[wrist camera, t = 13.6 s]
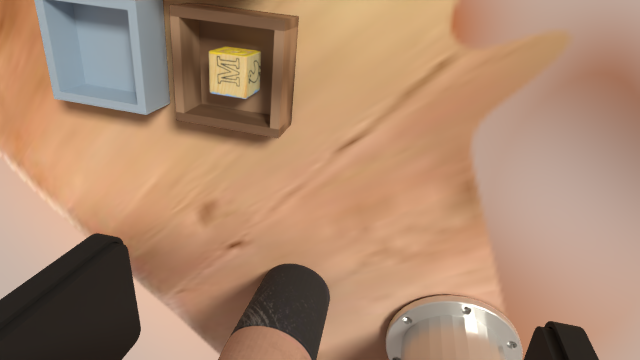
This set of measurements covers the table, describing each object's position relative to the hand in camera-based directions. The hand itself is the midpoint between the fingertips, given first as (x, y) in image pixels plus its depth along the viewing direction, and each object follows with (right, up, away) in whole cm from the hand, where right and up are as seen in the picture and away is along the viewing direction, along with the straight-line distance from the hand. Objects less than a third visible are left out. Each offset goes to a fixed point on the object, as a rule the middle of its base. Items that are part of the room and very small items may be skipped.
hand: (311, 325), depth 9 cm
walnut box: (-6, +12, +23) cm, 27 cm away
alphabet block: (-6, +12, +23) cm, 27 cm away
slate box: (-17, +15, +25) cm, 33 cm away
